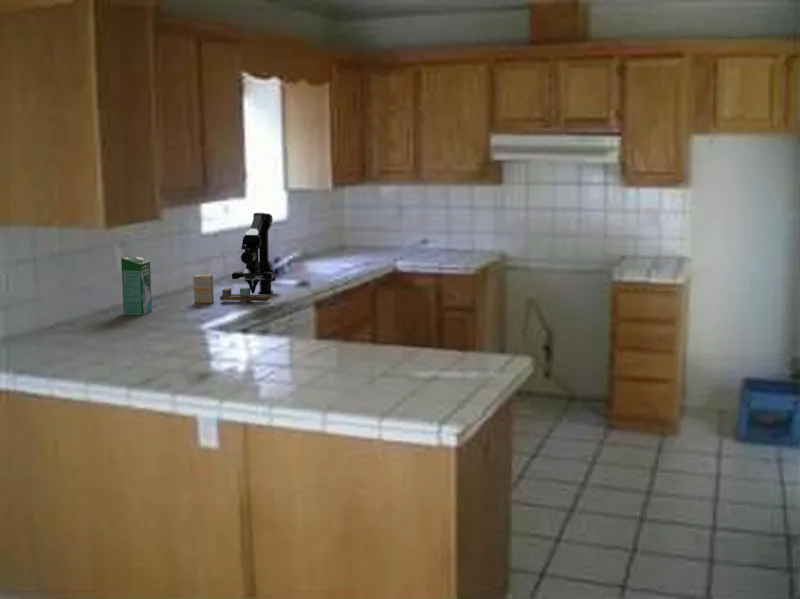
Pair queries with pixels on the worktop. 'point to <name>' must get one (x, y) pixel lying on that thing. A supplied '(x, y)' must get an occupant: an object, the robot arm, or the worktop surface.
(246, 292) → the block
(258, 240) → the robot arm
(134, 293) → the milk carton
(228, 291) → the brown long slotted block
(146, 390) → the worktop surface
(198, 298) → the supplement box
